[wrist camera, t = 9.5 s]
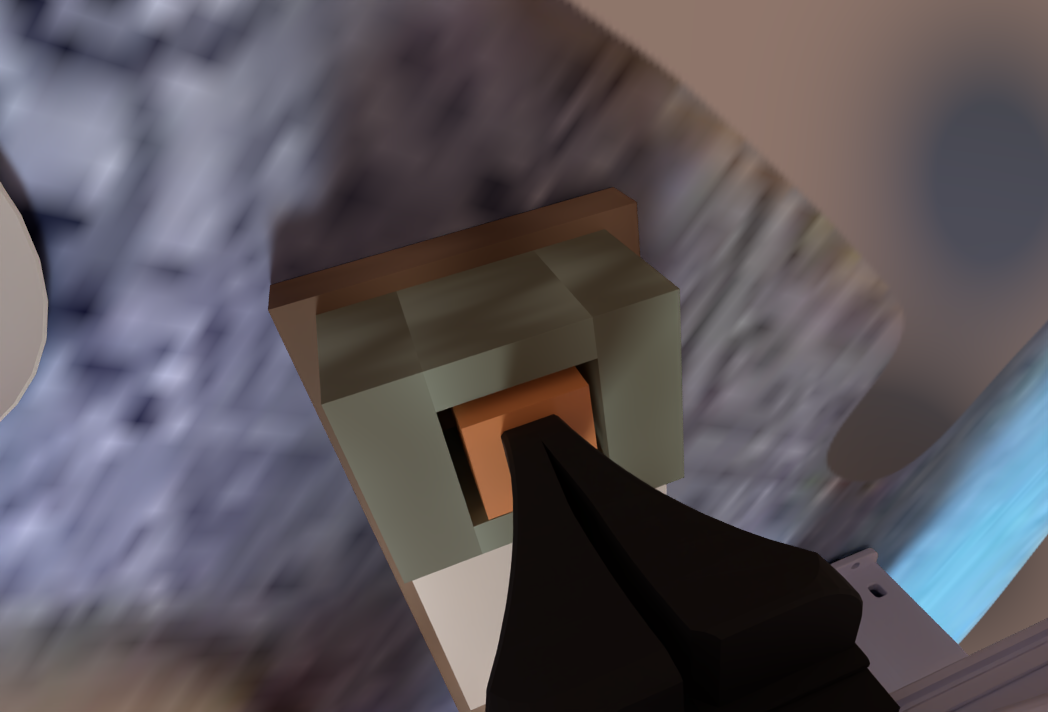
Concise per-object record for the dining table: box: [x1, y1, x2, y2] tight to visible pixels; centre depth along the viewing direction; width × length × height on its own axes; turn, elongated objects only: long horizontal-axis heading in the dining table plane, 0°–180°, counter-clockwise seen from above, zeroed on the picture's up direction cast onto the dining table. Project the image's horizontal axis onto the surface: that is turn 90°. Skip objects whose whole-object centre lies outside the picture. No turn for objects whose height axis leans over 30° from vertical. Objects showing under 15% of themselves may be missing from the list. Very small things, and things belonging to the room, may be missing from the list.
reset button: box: [451, 366, 597, 520], centre depth 15 cm, size 3×3×3 cm
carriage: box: [412, 484, 667, 710], centre depth 19 cm, size 8×8×7 cm
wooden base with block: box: [268, 187, 684, 712], centre depth 21 cm, size 10×24×6 cm, turn 10°
